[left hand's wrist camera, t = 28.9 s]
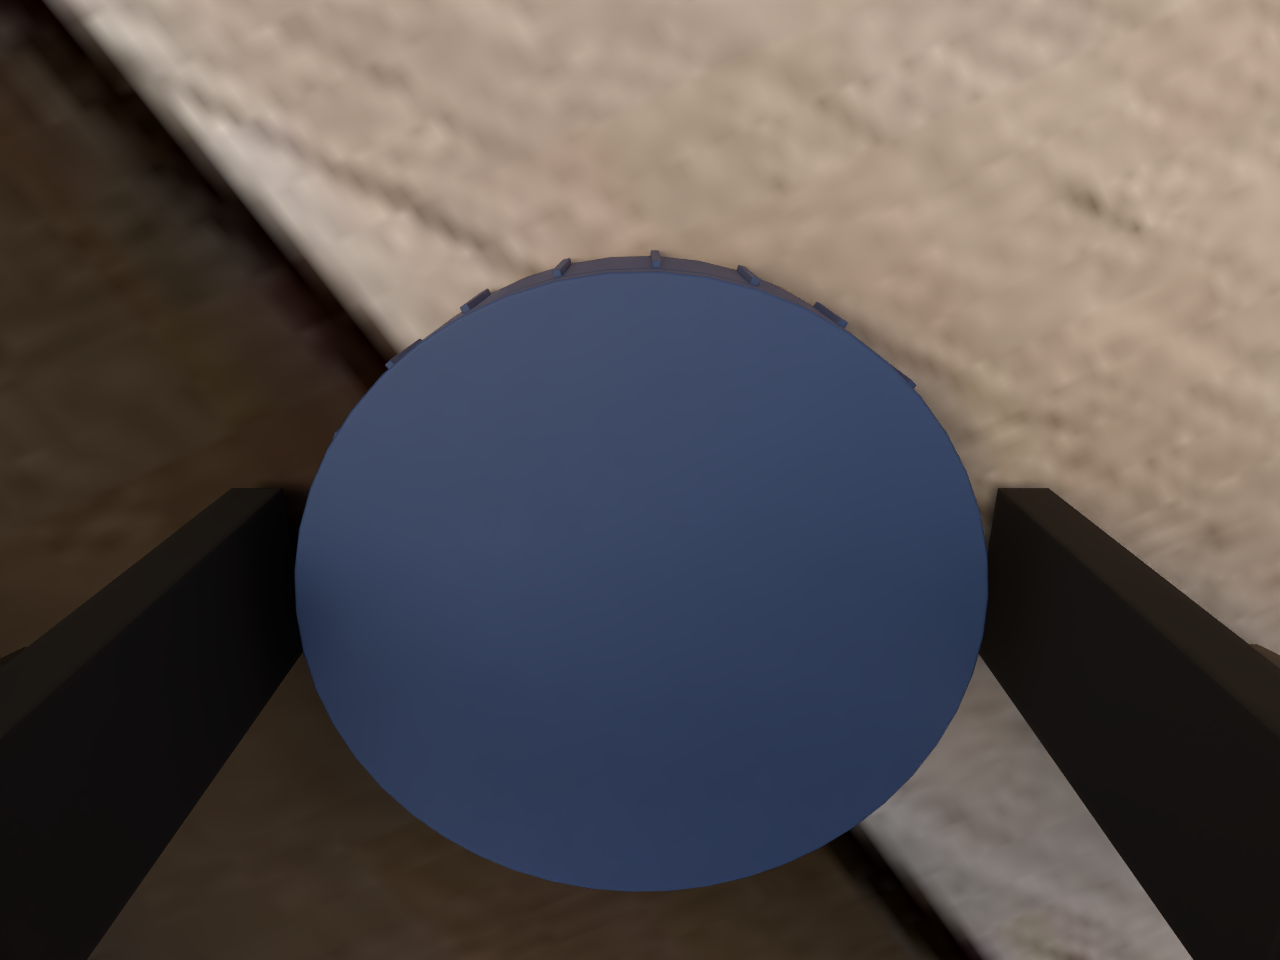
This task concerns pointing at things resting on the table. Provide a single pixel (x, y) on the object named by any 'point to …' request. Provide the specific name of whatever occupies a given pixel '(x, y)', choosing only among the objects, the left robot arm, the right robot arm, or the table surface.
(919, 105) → the table surface
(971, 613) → the lid
